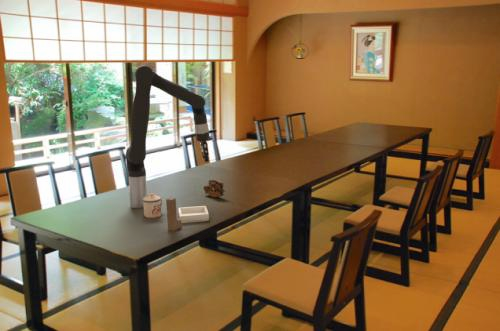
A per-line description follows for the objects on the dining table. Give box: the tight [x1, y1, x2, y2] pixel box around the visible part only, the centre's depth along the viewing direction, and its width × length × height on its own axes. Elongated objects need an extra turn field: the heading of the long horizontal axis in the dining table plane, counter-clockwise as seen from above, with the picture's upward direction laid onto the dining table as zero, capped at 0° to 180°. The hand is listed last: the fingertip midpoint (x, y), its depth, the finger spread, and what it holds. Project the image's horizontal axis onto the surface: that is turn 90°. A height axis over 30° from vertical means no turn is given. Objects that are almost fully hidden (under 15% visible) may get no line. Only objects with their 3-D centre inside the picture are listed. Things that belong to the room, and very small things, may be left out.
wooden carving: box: [203, 179, 227, 198], centre depth 283 cm, size 16×5×10 cm, turn 53°
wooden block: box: [165, 197, 182, 232], centre depth 232 cm, size 7×3×15 cm, turn 153°
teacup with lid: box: [143, 192, 163, 219], centre depth 253 cm, size 12×9×12 cm
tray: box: [177, 205, 210, 224], centre depth 248 cm, size 14×14×4 cm
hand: (205, 159), depth 276 cm, fingers open, 8 cm apart
